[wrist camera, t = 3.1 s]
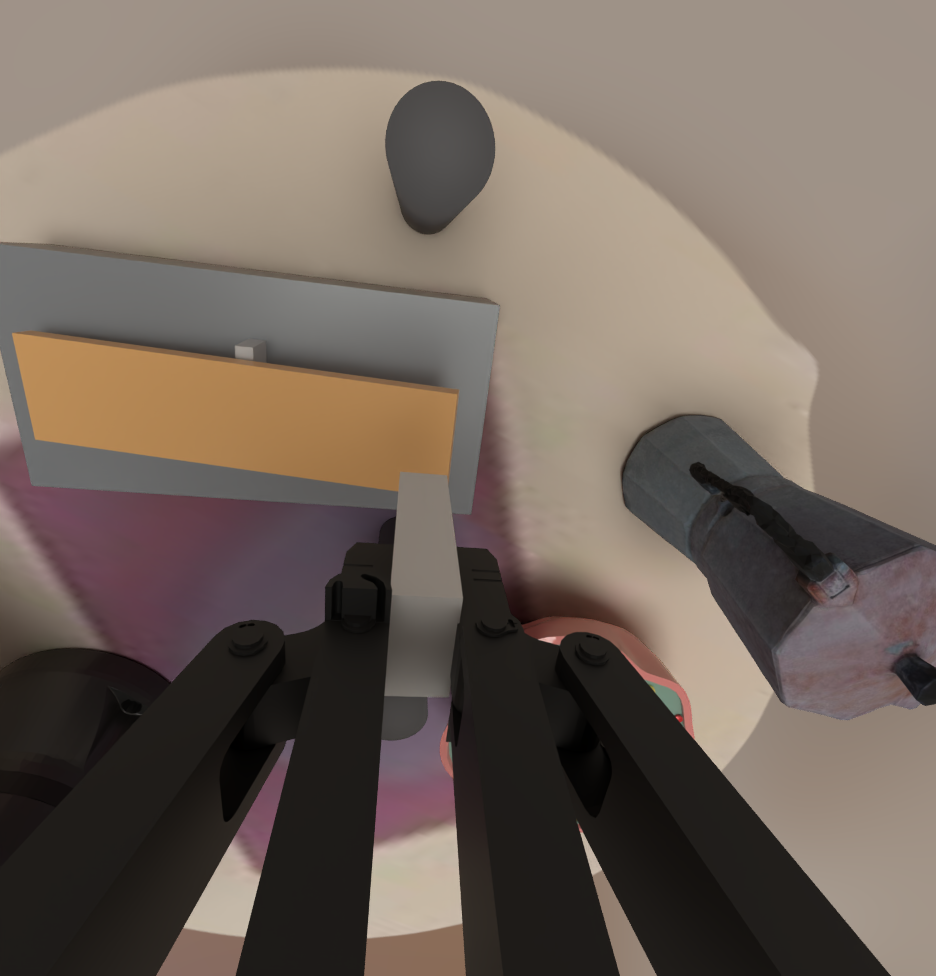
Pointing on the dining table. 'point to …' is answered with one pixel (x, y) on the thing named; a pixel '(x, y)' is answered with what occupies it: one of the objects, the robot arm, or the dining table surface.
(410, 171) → the post
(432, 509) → the robot arm
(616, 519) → the dining table surface
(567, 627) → the cell model
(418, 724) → the post
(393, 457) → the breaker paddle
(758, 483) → the moka pot
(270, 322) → the block
